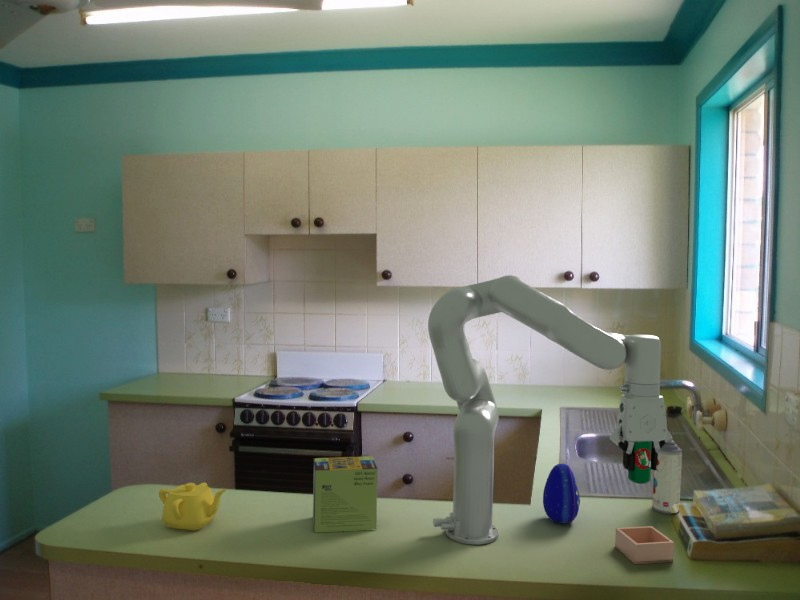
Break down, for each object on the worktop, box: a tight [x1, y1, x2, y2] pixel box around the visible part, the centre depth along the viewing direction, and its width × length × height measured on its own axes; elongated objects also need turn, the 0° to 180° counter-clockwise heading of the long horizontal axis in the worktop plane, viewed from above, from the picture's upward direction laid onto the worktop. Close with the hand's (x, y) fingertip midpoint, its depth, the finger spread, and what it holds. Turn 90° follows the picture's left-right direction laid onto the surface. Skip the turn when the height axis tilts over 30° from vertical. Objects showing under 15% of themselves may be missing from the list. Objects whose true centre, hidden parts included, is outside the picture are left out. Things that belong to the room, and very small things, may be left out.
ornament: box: [542, 463, 581, 524], centre depth 175 cm, size 11×9×15 cm
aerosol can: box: [651, 436, 683, 515], centre depth 184 cm, size 7×7×20 cm
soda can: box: [627, 441, 653, 485], centre depth 155 cm, size 5×5×12 cm
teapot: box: [158, 482, 227, 532], centre depth 168 cm, size 14×13×10 cm
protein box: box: [312, 456, 378, 534], centre depth 170 cm, size 10×15×16 cm
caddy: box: [614, 525, 675, 565], centre depth 156 cm, size 9×9×4 cm
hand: (640, 468), depth 155 cm, fingers closed on soda can, 4 cm apart
